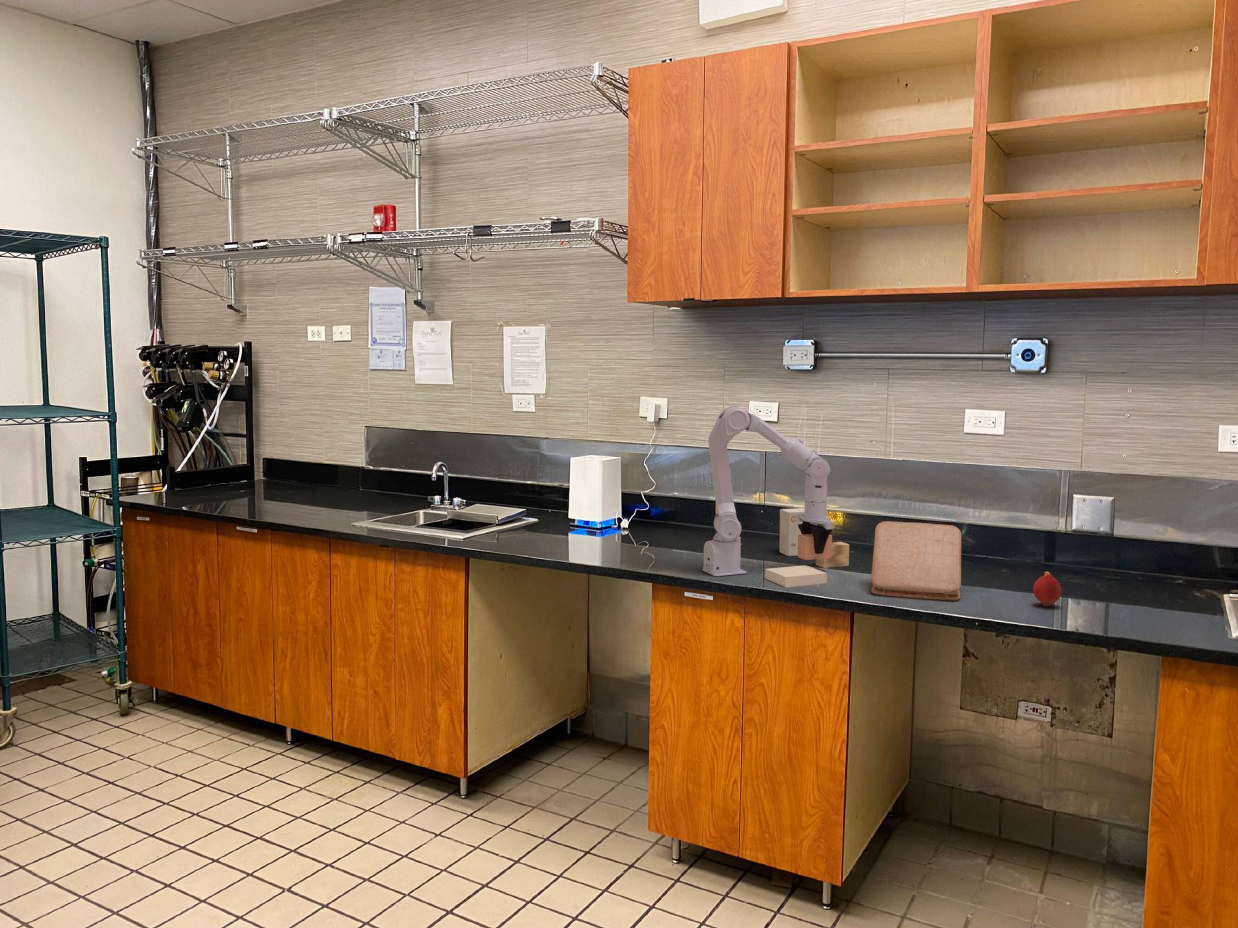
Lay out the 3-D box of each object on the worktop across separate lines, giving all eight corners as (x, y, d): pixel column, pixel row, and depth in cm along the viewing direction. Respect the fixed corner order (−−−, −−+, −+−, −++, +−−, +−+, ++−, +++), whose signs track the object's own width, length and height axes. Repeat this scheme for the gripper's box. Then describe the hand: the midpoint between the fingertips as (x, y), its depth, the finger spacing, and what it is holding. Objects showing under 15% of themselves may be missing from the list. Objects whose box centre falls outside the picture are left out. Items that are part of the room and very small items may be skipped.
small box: (803, 550, 266) (804, 507, 265) (813, 555, 260) (814, 510, 258) (778, 552, 264) (779, 508, 263) (787, 556, 258) (788, 512, 256)
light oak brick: (823, 568, 243) (824, 546, 243) (815, 565, 247) (816, 543, 246) (848, 565, 246) (849, 544, 245) (840, 562, 250) (840, 541, 249)
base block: (785, 588, 222) (785, 577, 222) (765, 580, 231) (765, 568, 231) (826, 584, 226) (827, 573, 226) (805, 576, 235) (805, 565, 235)
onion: (1052, 602, 206) (1054, 568, 206) (1065, 609, 201) (1067, 574, 200) (1027, 602, 206) (1029, 568, 205) (1040, 609, 201) (1041, 574, 200)
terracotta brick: (805, 559, 235) (806, 537, 234) (797, 556, 239) (797, 534, 238) (831, 557, 238) (832, 535, 237) (823, 554, 242) (823, 532, 241)
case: (869, 596, 214) (871, 530, 212) (875, 576, 233) (877, 516, 231) (960, 604, 207) (964, 536, 205) (959, 583, 226) (962, 521, 225)
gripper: (844, 504, 231) (843, 555, 233) (813, 496, 245) (812, 545, 246) (821, 505, 229) (819, 557, 230) (791, 498, 242) (790, 547, 244)
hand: (814, 551), depth 238 cm, fingers closed on terracotta brick, 4 cm apart
